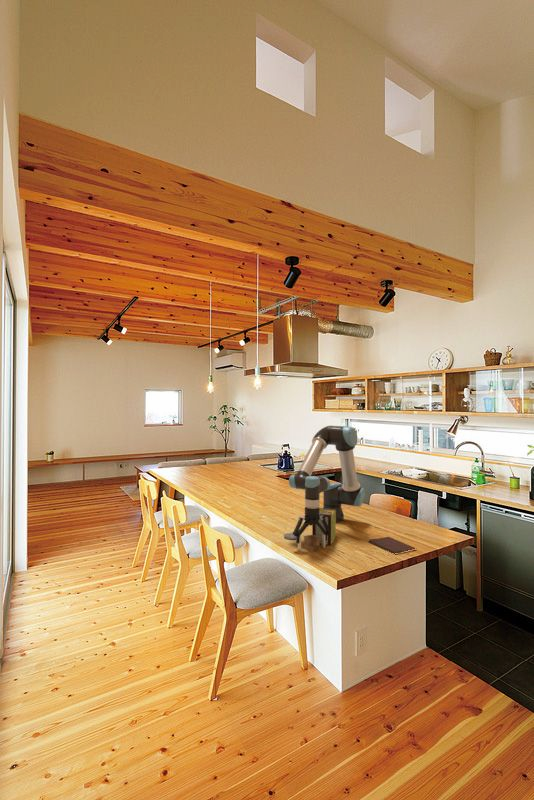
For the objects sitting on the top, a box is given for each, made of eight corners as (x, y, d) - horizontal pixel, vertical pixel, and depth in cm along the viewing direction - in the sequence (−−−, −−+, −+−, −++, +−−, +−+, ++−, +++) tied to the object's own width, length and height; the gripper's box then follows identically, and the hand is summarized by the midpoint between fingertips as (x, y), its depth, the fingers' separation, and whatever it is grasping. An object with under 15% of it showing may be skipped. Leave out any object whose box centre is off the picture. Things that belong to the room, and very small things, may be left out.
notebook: (389, 539, 222) (389, 535, 222) (416, 551, 204) (416, 547, 204) (368, 543, 215) (368, 539, 215) (395, 555, 197) (395, 551, 197)
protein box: (335, 536, 224) (336, 509, 224) (331, 545, 209) (331, 516, 209) (317, 534, 227) (317, 507, 227) (311, 543, 213) (312, 514, 213)
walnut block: (314, 546, 208) (314, 534, 208) (319, 550, 202) (319, 538, 202) (304, 547, 206) (304, 535, 206) (308, 551, 201) (308, 539, 201)
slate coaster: (296, 533, 227) (296, 532, 227) (302, 539, 218) (302, 537, 218) (281, 535, 225) (281, 533, 225) (286, 540, 216) (286, 539, 216)
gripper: (330, 503, 212) (330, 543, 211) (287, 506, 205) (286, 547, 204) (337, 507, 204) (336, 548, 204) (291, 510, 198) (291, 552, 197)
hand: (311, 548), depth 204 cm, fingers open, 13 cm apart
